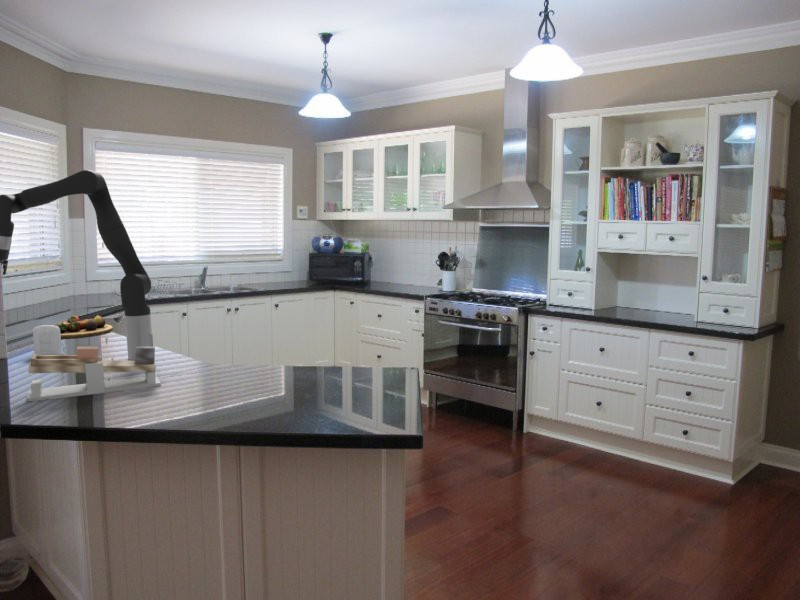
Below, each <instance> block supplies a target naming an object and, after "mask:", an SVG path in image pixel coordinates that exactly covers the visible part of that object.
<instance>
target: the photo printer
mask: <svg viewBox="0 0 800 600" xmlns="http://www.w3.org/2000/svg"><path fill="white" fill-rule="evenodd" d="M32 329H33V330H32V336H33V337H32V338H33V339H32V340H33V350H34V352H33V354H37V355H63V350H62V338H61V334H60V328H59V327H58V326H55V325H52V324H42V325H38V326H35V327H33V328H32Z"/></svg>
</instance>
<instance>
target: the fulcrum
mask: <svg viewBox="0 0 800 600" xmlns="http://www.w3.org/2000/svg"><path fill="white" fill-rule="evenodd" d="M98 361H103V357H102V355H100V356H99V355H98ZM85 370H86V372H85V379H86V381H85V382H86V383H80V384H78V383H77V384H71V385H69V384H68V385H61V386H53V387H44V388H43V385H42V384H43V383H42V379H35V380H34V379H32V381H31V384H30V389H29V390H28V393H27V396H26V402H27V401H33V402H39V401H38V400H41V401H47V400H46V399H49V400H56V399H57V400H58V399H64V398H73V397H81V396H90V395H98V394H99V395H100V394H106V393H113V392H120V391H121V392H123V391H130V390H138V389H148V388H153V387H154V386H156V387H161V381H160V379H159V377H158V375H156V370H155V371H152V372H144V373H145V376H139V377H133V378H132V377H131V378H123V379H114V380H105V372H104V371H103V362H100V363H90V364H85ZM147 387H148V388H147Z"/></svg>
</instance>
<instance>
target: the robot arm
mask: <svg viewBox="0 0 800 600" xmlns="http://www.w3.org/2000/svg"><path fill="white" fill-rule="evenodd" d="M82 194H83V195H87V197H88V199H89V200H90V202H91V204H92V207H93V209H94V212H95V217H96V226H97V229H98V232H99V236H100V237H101V240H102V241H103V244H104V246H105V248H106V249H107V250H108V251H109V252H110V254H111V255H112V257H114V259H116V260H117V262H118V263H119V264H120V266H121V269H122V270H123V273H124V275H125V276H123V277H122V279H121V280H120V283H119V284H120V287H119V291H120V299H121V306H122V309H123V311H124V323H125V333H126V348H127V359H128V360H135V347H139V346H150V347H154V336H153V333H152V332H153V331H152V318H151V316H152V315H151V307H150V306H149V305H148V304H147V301H146V295H148V294H149V293H150V291H151V289H152V281H151V278H150V277H149V274H148V272H147V271H146V269H145V268H144V266H143V264H142V263H141V261H140V259H139V257H138V254H137V252H136V250H135V247H134V245H133V243H132V241H131V239H130V236H129V234H128V232H127V229H126V227H125V225H124V222H123V221H122V219H121V217H120V215H119V212H118V211H117V208H116V207H115V205H114V202H113V200H112V197H111V194H110V191H109V187H108V185H107V181H106V179H105V178H104V176H103V175H102V174H100V173H99V172H98V171H95V170H92V169H82V170H80V171H77V172H75V173H73V174H70V175H68V176H67V177H64V178H62V179H59V180H57V181H54V182H53V181H52V182H50V183H45V184H41V185H38V186H34V187H29V188H27V189H24V190H22V191H21V192H18V193H13V194H0V263H1V274H2V277H4V276H5V275H6V274H7V270H8V264H9V255H10V251H11V246H12V238H13V233H14V229H15V223H14V222H13V221H12V214H17V213H21V212H23V211H26V210H29V209H30V208H31V209H32V208H36V207H40V206H44V205H47V204H50V203H53V202H55V201H57V200H59V199H62V198H64V197H68V196H72V195H74V196H75V195H82ZM2 277H1V278H2Z"/></svg>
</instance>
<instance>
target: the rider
mask: <svg viewBox="0 0 800 600" xmlns="http://www.w3.org/2000/svg"><path fill="white" fill-rule="evenodd" d="M76 355H77V356H76V359H95V363H98V356H99V348H98V346H89V345H88V346H82V345H81V346H76Z"/></svg>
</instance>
